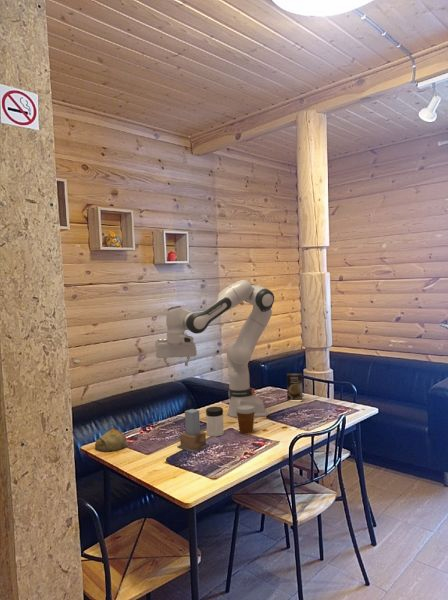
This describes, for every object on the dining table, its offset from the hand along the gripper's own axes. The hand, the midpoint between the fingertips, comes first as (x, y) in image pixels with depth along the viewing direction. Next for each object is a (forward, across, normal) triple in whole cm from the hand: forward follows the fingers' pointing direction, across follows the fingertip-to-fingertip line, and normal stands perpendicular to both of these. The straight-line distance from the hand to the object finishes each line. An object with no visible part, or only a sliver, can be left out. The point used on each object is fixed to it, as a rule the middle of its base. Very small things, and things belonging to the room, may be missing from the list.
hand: (177, 366), depth 222 cm
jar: (+31, +18, -12) cm, 38 cm away
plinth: (+31, +8, -28) cm, 42 cm away
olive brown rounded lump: (+32, -29, -23) cm, 49 cm away
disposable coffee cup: (+31, +33, -11) cm, 47 cm away
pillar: (+25, +8, -27) cm, 38 cm away
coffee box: (+31, +66, +39) cm, 83 cm away
